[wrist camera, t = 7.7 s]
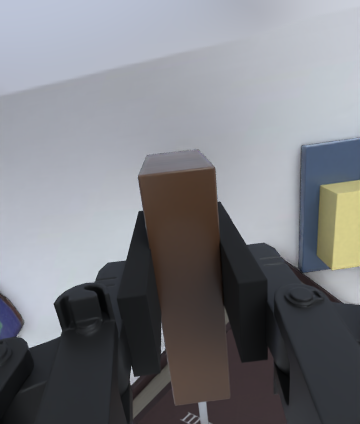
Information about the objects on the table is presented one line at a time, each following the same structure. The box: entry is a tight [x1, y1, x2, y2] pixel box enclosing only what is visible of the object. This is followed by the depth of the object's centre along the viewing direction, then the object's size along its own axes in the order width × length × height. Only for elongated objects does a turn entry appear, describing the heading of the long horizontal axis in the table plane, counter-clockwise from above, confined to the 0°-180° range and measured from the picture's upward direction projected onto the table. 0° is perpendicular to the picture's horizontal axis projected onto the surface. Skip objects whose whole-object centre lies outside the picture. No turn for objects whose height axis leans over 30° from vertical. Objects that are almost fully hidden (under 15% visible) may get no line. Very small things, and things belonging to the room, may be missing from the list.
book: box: [131, 259, 342, 424], centre depth 34 cm, size 28×19×6 cm
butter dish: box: [299, 138, 360, 273], centre depth 29 cm, size 14×12×1 cm
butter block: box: [317, 180, 360, 270], centre depth 28 cm, size 8×4×3 cm, turn 7°
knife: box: [138, 149, 230, 424], centre depth 14 cm, size 20×2×4 cm, turn 6°
